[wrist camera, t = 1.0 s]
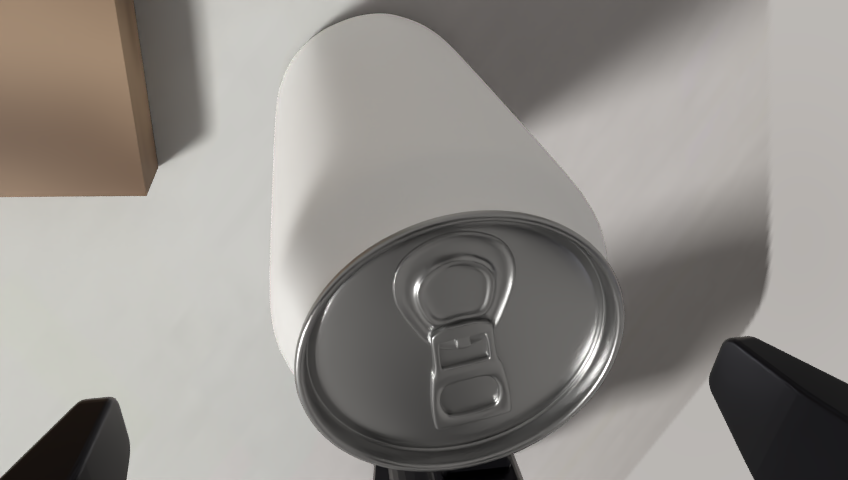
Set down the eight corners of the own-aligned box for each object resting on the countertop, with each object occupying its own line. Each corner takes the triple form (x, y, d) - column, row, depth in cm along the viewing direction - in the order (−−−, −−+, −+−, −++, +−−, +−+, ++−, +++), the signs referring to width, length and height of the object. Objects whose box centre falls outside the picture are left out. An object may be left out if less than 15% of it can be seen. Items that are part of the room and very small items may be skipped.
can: (460, -9, 19) (665, 143, 9) (478, 178, 22) (638, 439, 12) (250, 31, 18) (206, 243, 8) (303, 215, 21) (319, 522, 12)
